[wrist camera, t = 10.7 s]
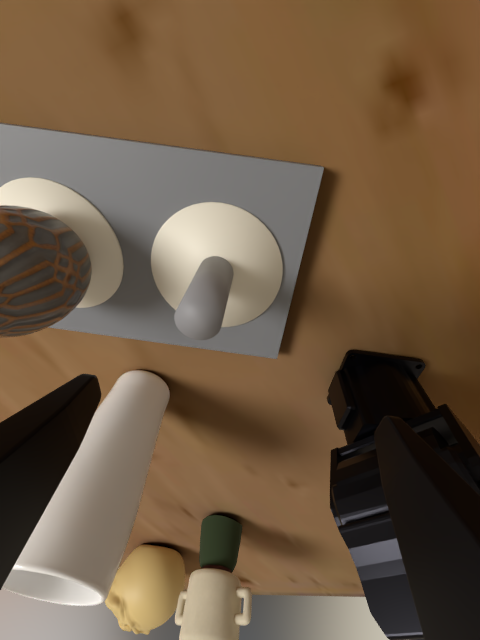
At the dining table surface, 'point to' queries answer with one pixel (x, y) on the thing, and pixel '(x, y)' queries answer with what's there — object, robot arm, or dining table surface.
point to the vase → (38, 270)
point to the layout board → (170, 234)
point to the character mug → (215, 586)
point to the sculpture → (147, 588)
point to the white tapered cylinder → (95, 499)
